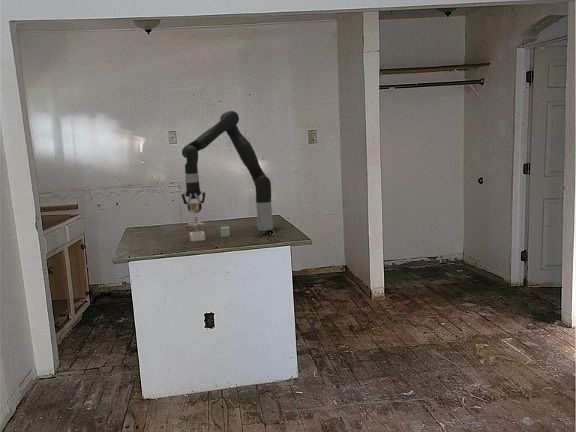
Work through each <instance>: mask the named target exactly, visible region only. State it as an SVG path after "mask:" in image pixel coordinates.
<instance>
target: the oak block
mask: <svg viewBox="0 0 576 432" xmlns="http://www.w3.org/2000/svg"><path fill="white" fill-rule="evenodd" d="M189 212H190V214H200V212H201V210H200V211H199V203H198V202H193V203H192V202H190V211H189Z"/></svg>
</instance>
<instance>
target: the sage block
mask: <svg viewBox="0 0 576 432" xmlns="http://www.w3.org/2000/svg"><path fill="white" fill-rule="evenodd" d="M230 230H231V229H230V226H220V237H221V238H223V237H231V231H230Z"/></svg>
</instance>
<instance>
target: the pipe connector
mask: <svg viewBox="0 0 576 432" xmlns="http://www.w3.org/2000/svg"><path fill="white" fill-rule="evenodd" d="M193 219H194V222H188V225H187V226H188V227H192V228H195V232H200V231H199V227H204V226H206V224H205V222H201V221H198V216H197V215H196V216H194V218H193Z"/></svg>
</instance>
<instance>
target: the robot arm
mask: <svg viewBox="0 0 576 432" xmlns="http://www.w3.org/2000/svg"><path fill="white" fill-rule="evenodd" d="M219 119H220V120H219V121H218V122H217V123H215V124H214V125H213V126H211V127H210V128H208V129H207V130H206V131H204V132H202V133H201V134H200V135H199V136H198V137H197V138H195V139H194V140H192V141H191V142H190V143H188V144H187V145H184V147H183V148H182V149H181V154H182V156H183V157H184V158H185V159H186V163H185V164H184V170H185V171H184V172H185V176H184V178H185V180H184V181H185V188H186V189H185V190H186V191H185V192H184V193H181V198H182V201H183V204H184V205H186V206H187V210H188V211H189V212H190V203H191V201H192V200H196V201H197V203H199V211H200V212H201V210H202V208H203V207H202V204H204V203H205V198H206V193H207V192H205V191H204V192H203V191H201V188H200V187H201V186H200V177H199V176H200V175H199V171H198V170H199V169H198V164H199V151H201V150H204V149H206V148H207V147H208V146H210V145H211V144H212V143H213V142H214V141H215V140H216V139H218V137H220V136H221V135H222V134H223V133H225V132H226V134H227V135H228V138H229V139H230V141H231V142H232V144H233V146H234V148H235V150H236V152H237V154H238V157H239V158H240V160H241V161H242V163H243V164H244V166H245V167H246V169H247V171H248V172H249V174H250V176H251V179H252V181H253V184H254V186H255V203H256V204H255V206H256V219H257V230H258V231H259V232H266V231H267V232H268V230H269V231H273V230H274V220H273V209H272V208H273V207H272V183H271V179H270V178H269V177H268V176H267V175H266V174H265V172H264V171H263V169H262V167H261V165H260V164H259V160H258V157H257V154H256V152H255V149H253V146H252V144H251V143H250V142H249V140H248V139H247V138H246V137H245V136H244V135H243V134H242V133H241V131H240V130H239V127H238V123H239V121H240V117H239V114H238V113H237V112H236V111H234V110H229V111H225V112H224V113H222V114H221V116H220V118H219ZM200 195H201V196H202V197H201V199H202V200H201V199H200ZM186 196H187V197H188V201H187V199H186Z"/></svg>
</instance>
